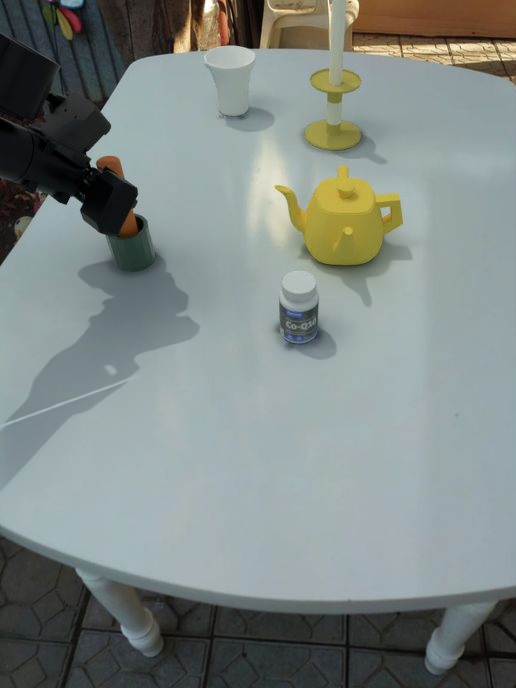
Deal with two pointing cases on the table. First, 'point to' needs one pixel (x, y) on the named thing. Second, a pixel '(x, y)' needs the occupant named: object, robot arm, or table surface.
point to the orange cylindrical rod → (115, 165)
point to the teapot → (344, 219)
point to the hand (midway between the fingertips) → (128, 198)
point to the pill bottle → (298, 307)
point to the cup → (231, 77)
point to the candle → (334, 91)
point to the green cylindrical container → (133, 248)
